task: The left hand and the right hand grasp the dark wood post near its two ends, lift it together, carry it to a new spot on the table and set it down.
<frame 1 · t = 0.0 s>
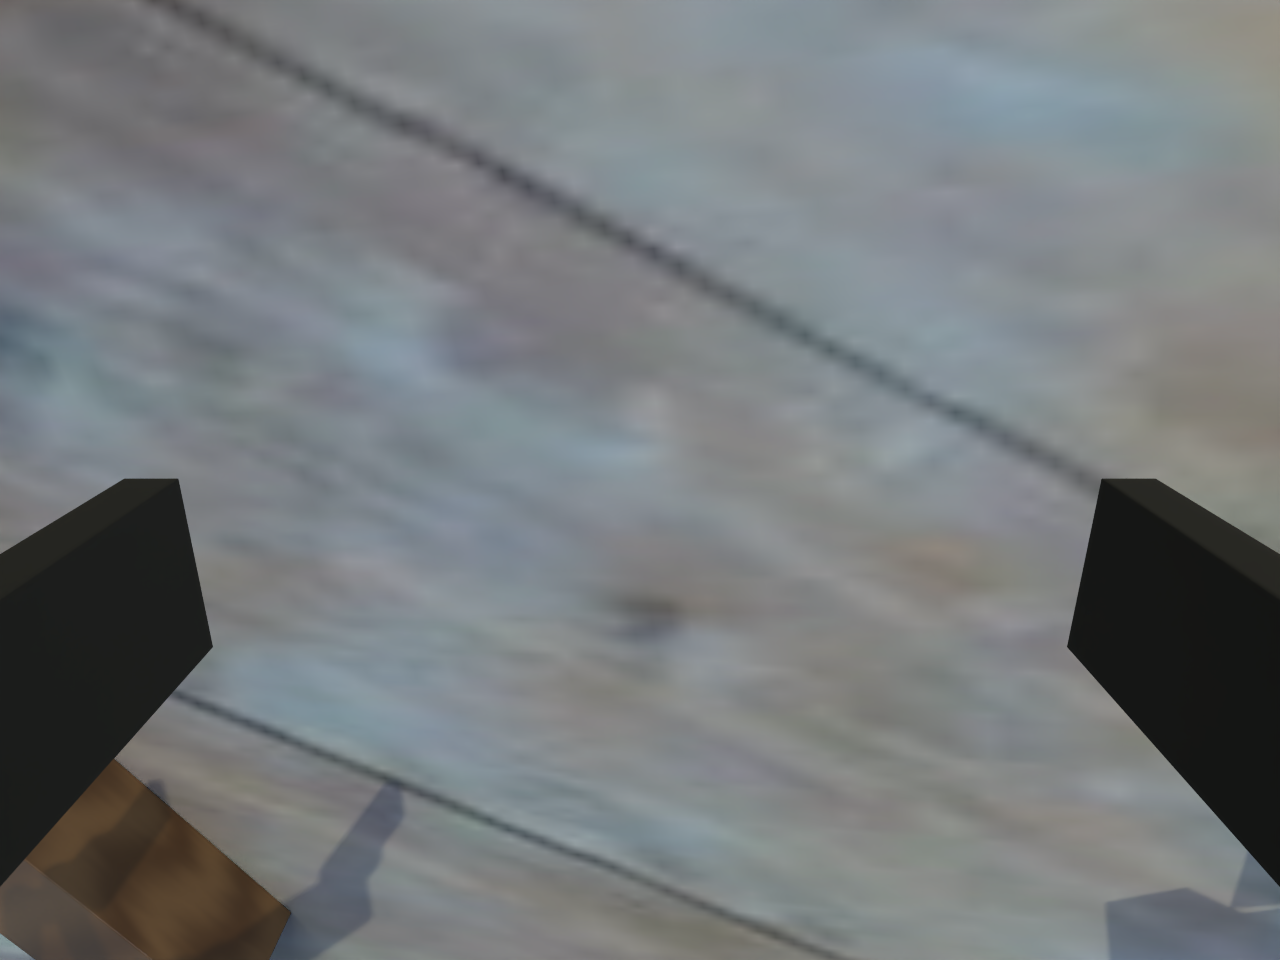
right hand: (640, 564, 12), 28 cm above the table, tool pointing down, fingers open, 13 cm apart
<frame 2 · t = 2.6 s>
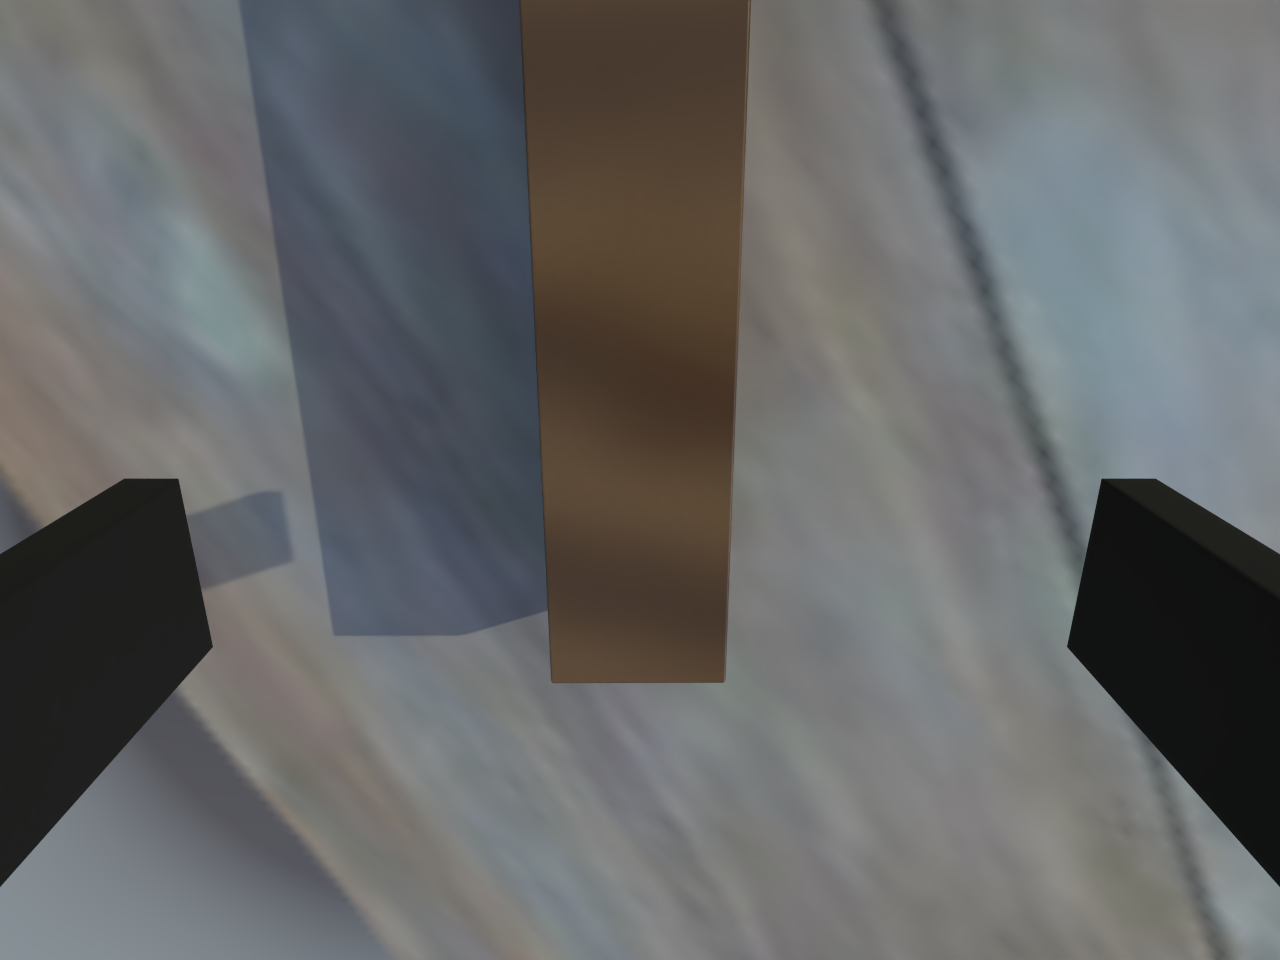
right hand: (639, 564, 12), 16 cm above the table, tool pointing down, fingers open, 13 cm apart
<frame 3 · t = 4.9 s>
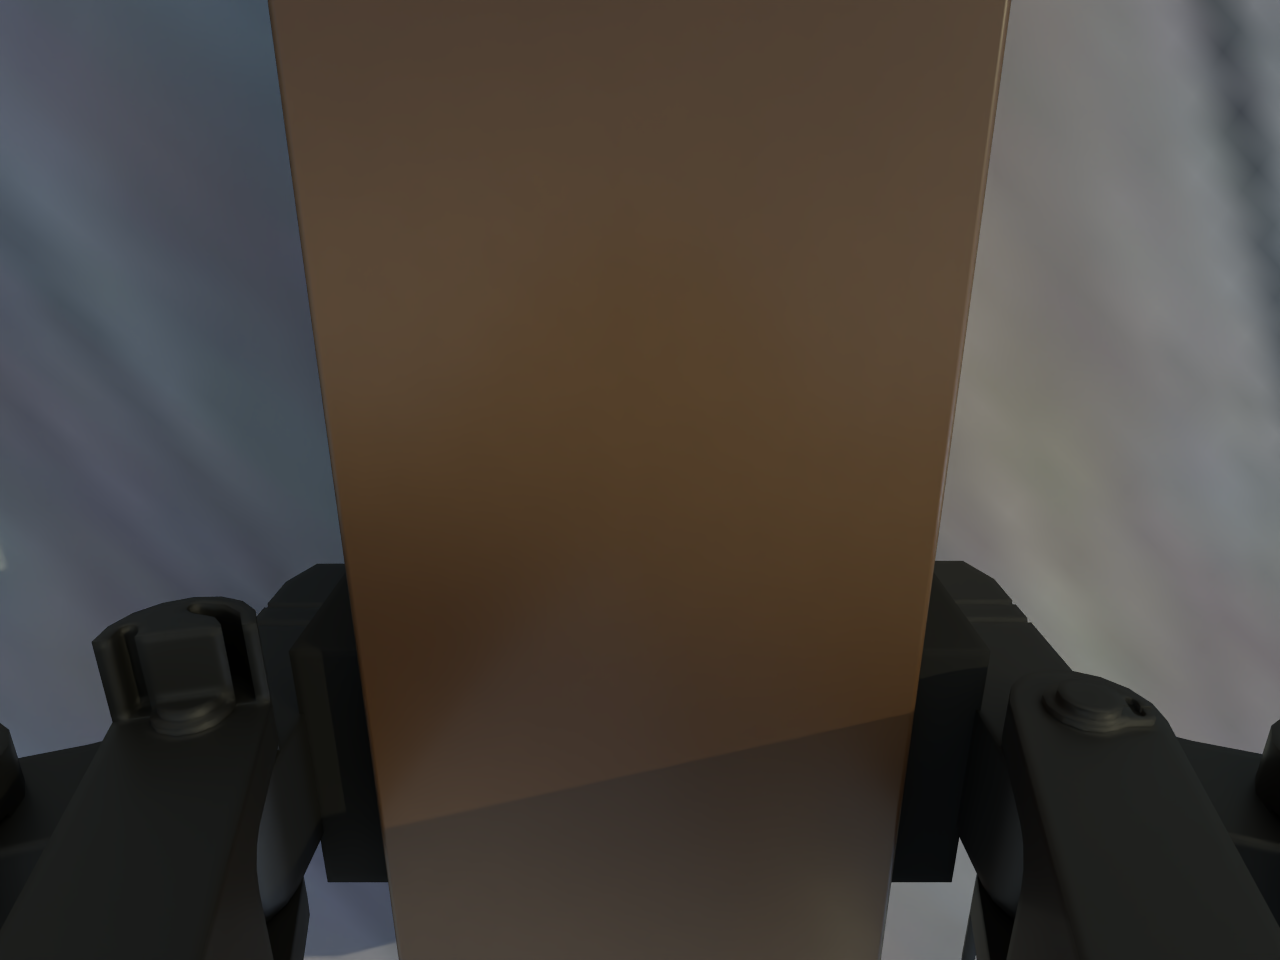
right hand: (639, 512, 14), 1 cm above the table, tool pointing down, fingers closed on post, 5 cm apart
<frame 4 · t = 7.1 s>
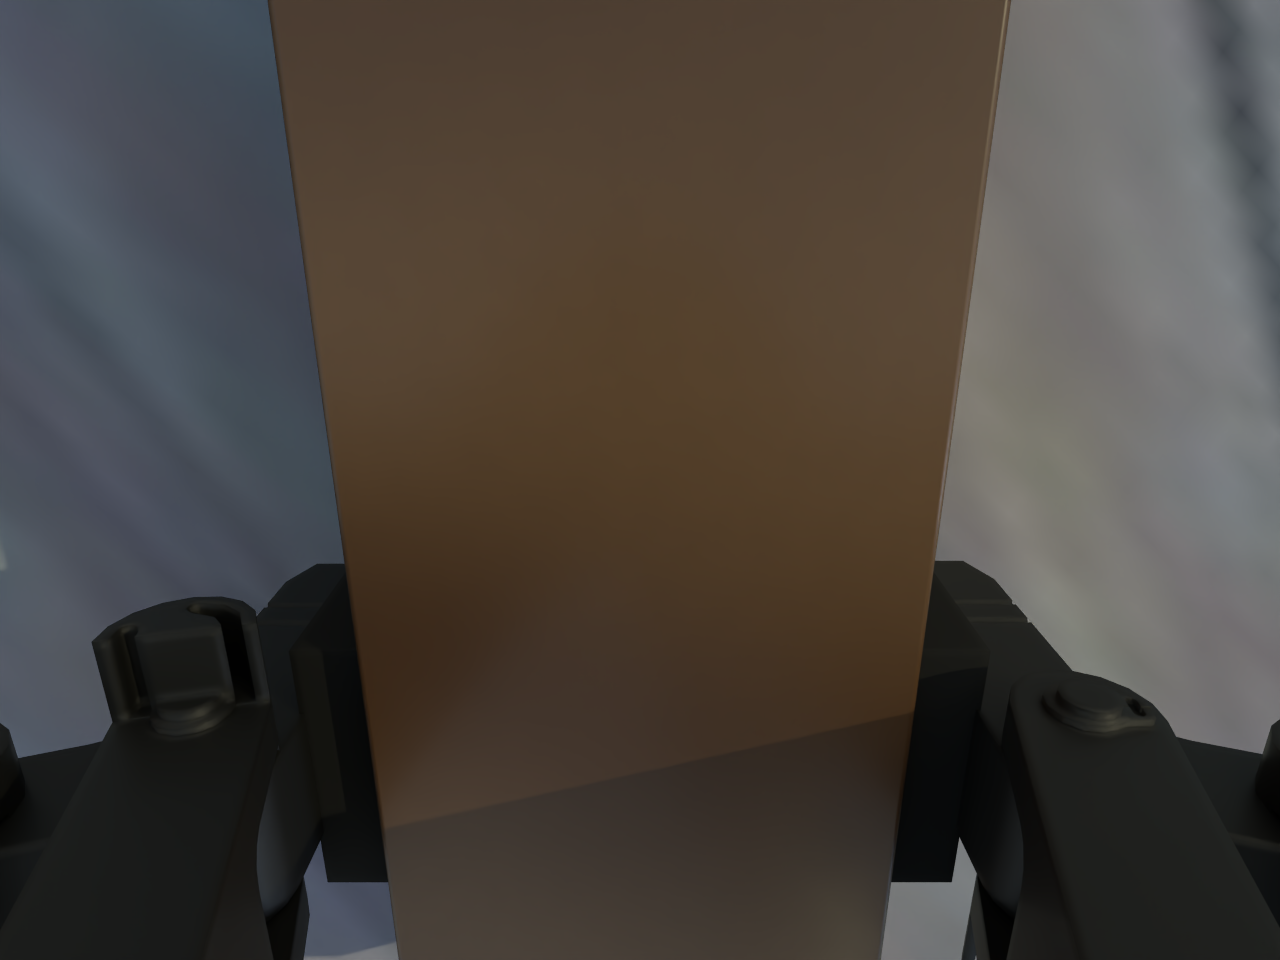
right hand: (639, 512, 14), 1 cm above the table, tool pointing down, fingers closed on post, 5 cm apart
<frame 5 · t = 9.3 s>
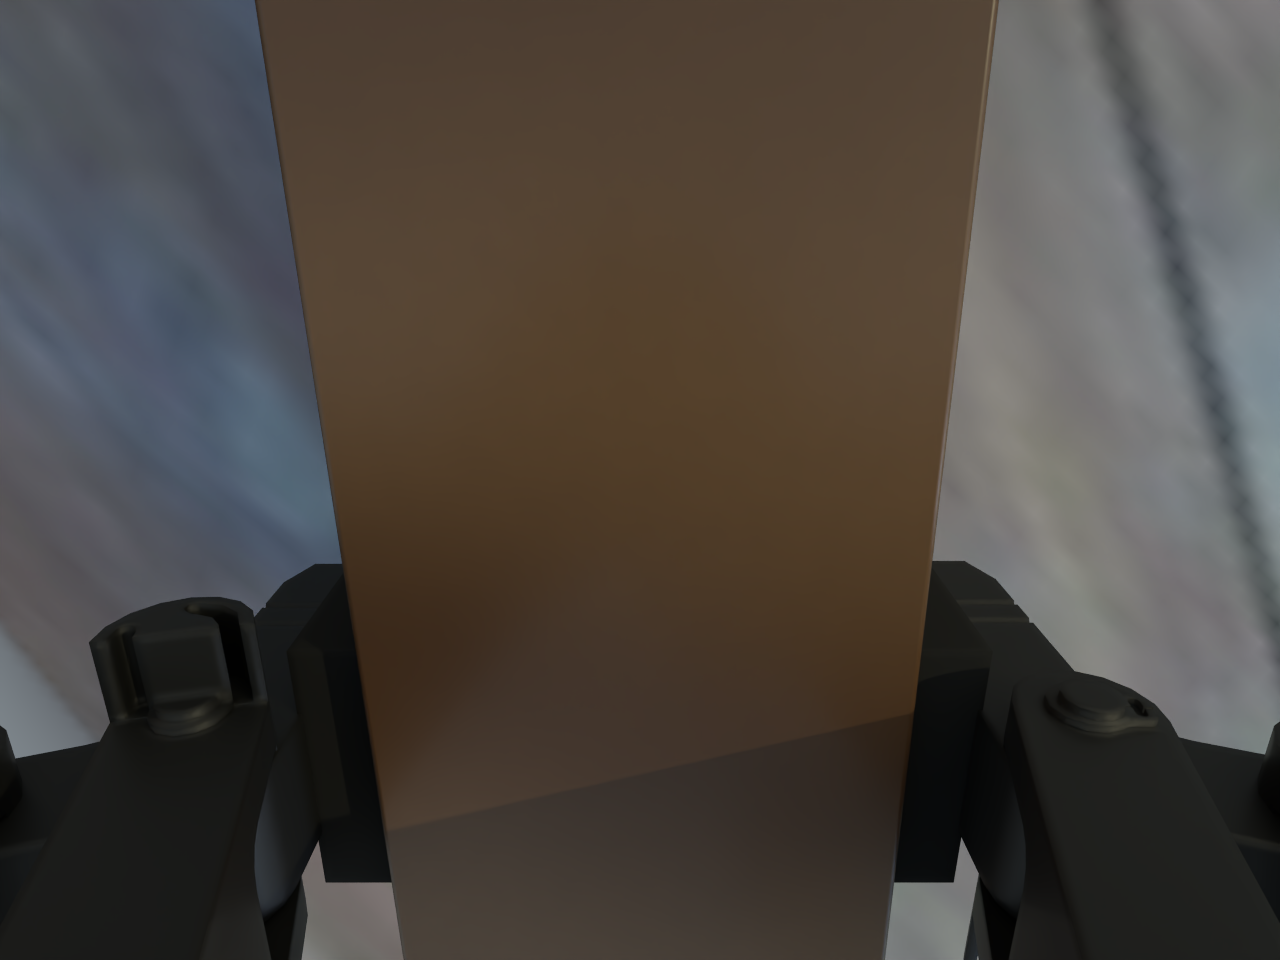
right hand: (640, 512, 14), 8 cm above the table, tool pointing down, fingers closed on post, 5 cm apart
when the right hand's fingers open (2 cm above the table, at t = 11.3 s): post drops 1 cm, on the table.
when the left hand's fingers open (4 cm above the table, at t = 11.5 s): post stays where it is, on the table.
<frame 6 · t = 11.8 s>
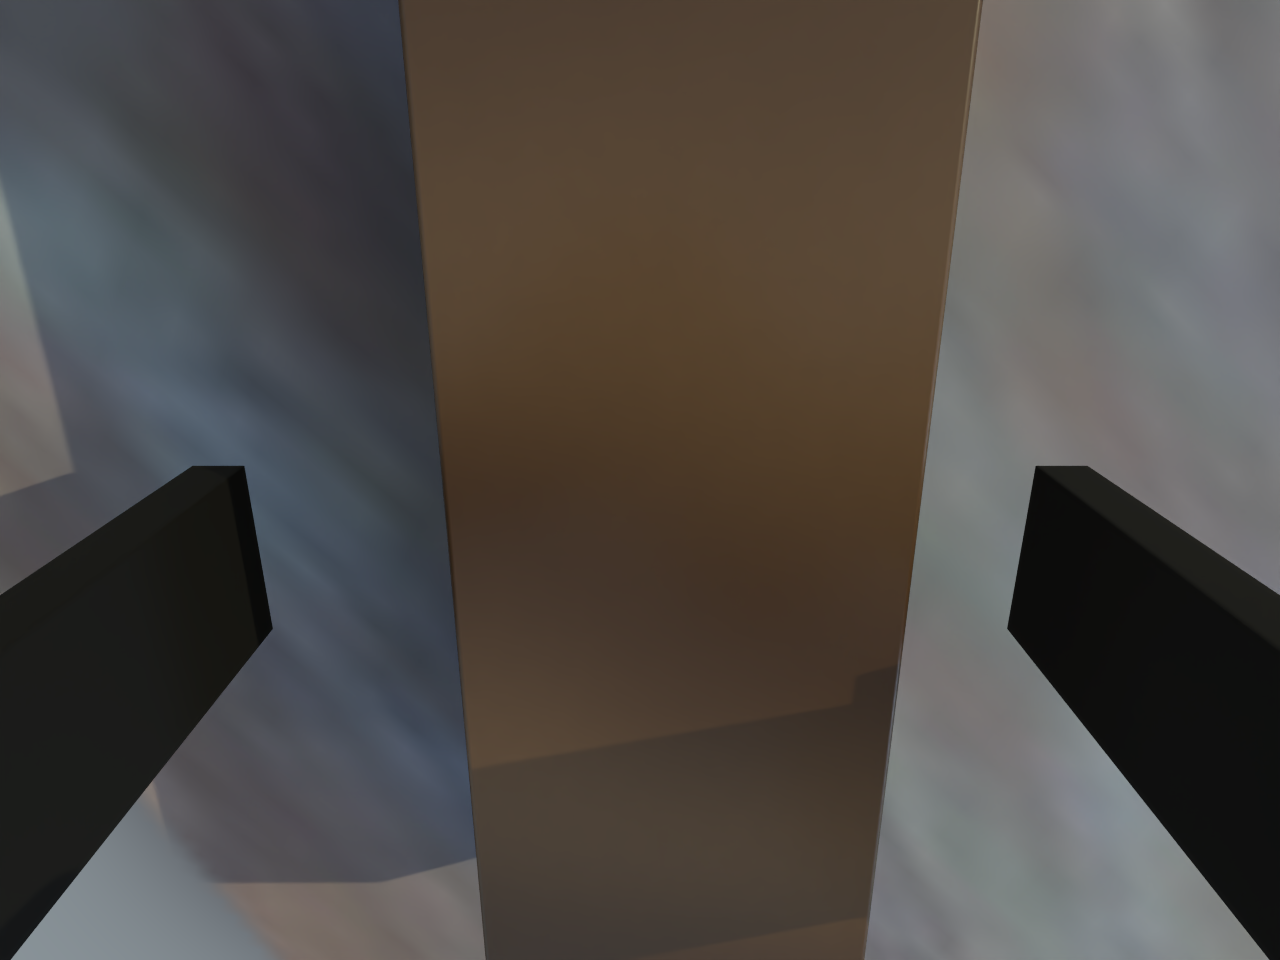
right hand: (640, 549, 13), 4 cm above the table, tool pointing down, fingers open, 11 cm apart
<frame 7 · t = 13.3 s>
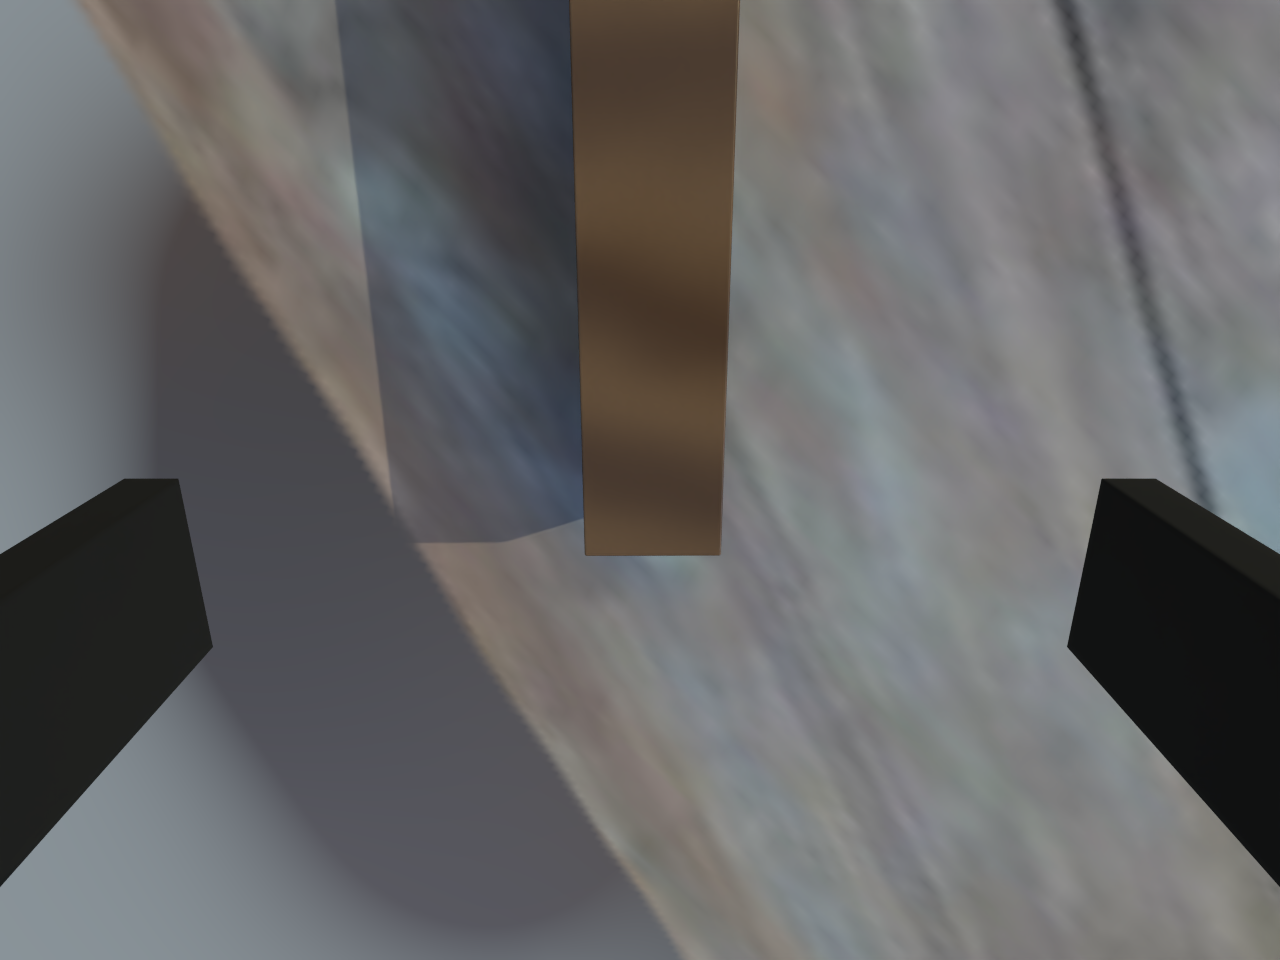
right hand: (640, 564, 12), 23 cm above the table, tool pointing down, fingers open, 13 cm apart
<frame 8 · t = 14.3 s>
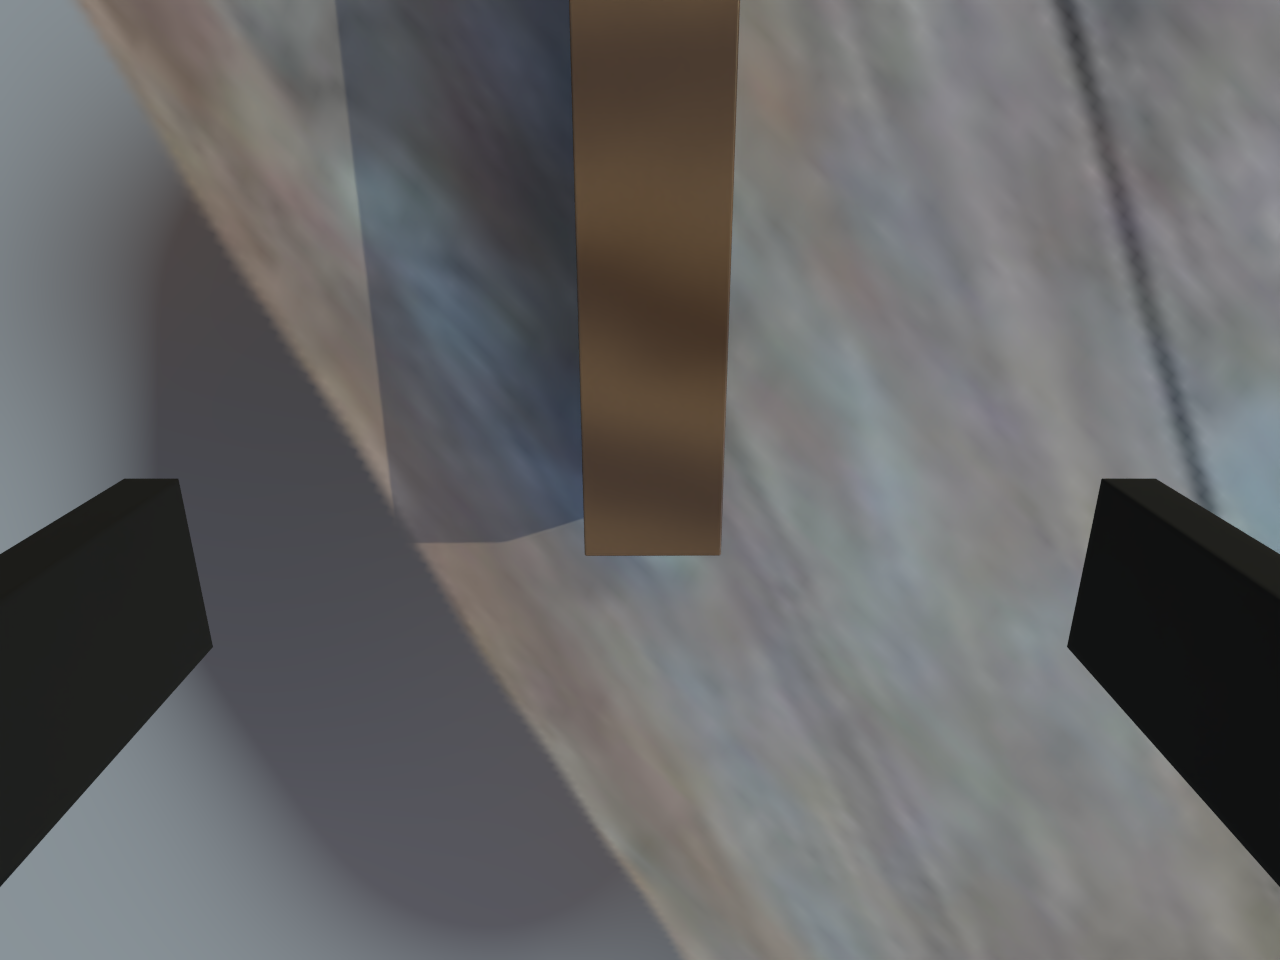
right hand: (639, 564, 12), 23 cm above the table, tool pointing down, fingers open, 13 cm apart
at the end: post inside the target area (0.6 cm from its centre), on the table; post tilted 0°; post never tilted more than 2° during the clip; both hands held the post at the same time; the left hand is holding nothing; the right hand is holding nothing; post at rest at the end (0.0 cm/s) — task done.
